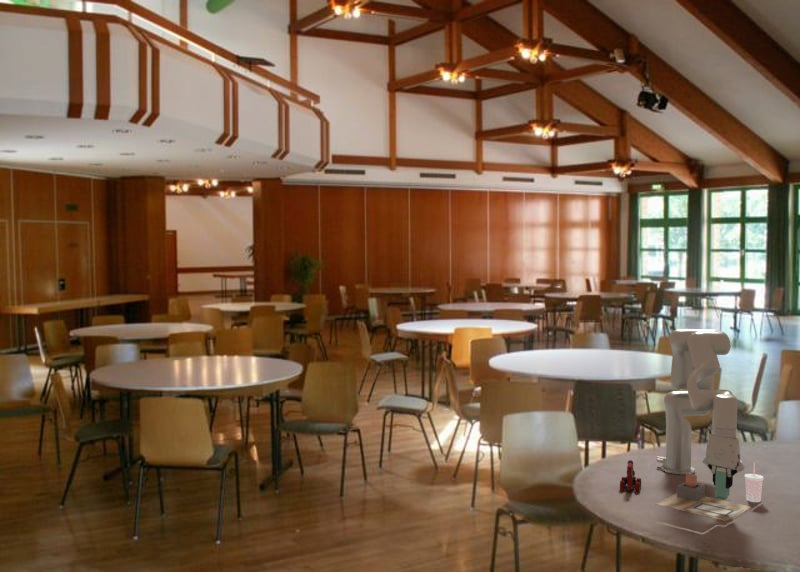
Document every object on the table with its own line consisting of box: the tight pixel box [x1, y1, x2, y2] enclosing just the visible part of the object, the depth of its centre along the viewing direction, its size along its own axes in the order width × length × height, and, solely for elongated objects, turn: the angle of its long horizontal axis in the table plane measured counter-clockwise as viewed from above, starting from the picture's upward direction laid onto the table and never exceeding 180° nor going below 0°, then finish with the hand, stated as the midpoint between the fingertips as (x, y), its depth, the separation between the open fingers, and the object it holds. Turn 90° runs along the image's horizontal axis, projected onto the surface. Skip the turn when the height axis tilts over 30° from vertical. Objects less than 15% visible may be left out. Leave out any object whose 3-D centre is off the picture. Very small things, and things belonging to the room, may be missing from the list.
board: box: [654, 492, 752, 524], centre depth 277 cm, size 25×20×1 cm
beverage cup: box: [744, 461, 764, 503], centre depth 283 cm, size 6×6×14 cm
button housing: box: [676, 481, 706, 501], centre depth 286 cm, size 7×7×4 cm
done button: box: [685, 473, 698, 488], centre depth 286 cm, size 4×4×5 cm
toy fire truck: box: [619, 460, 642, 494], centre depth 296 cm, size 7×12×10 cm, turn 160°
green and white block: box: [714, 466, 731, 501], centre depth 271 cm, size 3×3×11 cm
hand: (722, 485), depth 271 cm, fingers closed on green and white block, 3 cm apart
